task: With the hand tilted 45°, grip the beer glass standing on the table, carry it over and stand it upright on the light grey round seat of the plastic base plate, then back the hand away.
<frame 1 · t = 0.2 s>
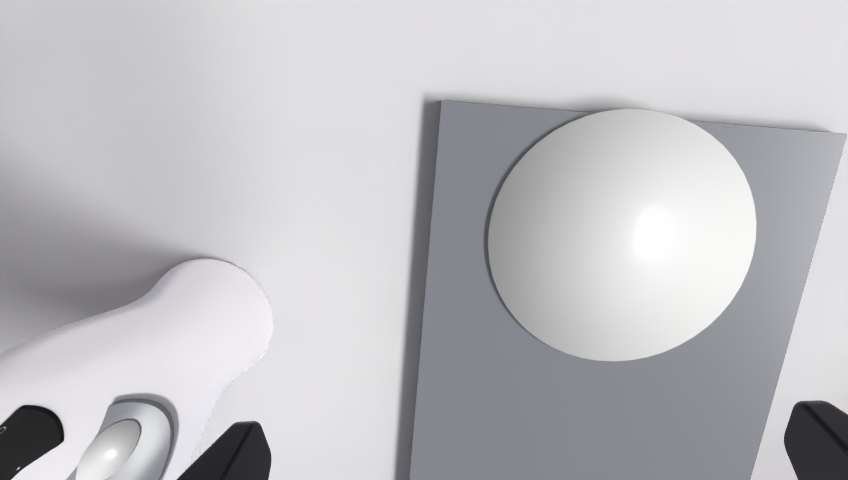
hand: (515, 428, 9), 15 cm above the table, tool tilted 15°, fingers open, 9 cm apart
base plate: (588, 375, 26), on the table
beer glass: (215, 315, 26), on the table
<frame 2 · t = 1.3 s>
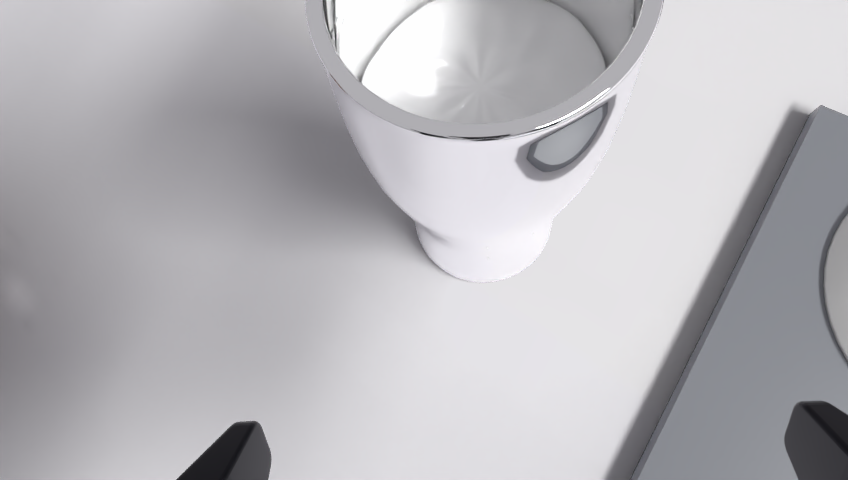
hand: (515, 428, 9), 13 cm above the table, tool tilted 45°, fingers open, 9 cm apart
beer glass: (482, 217, 24), on the table
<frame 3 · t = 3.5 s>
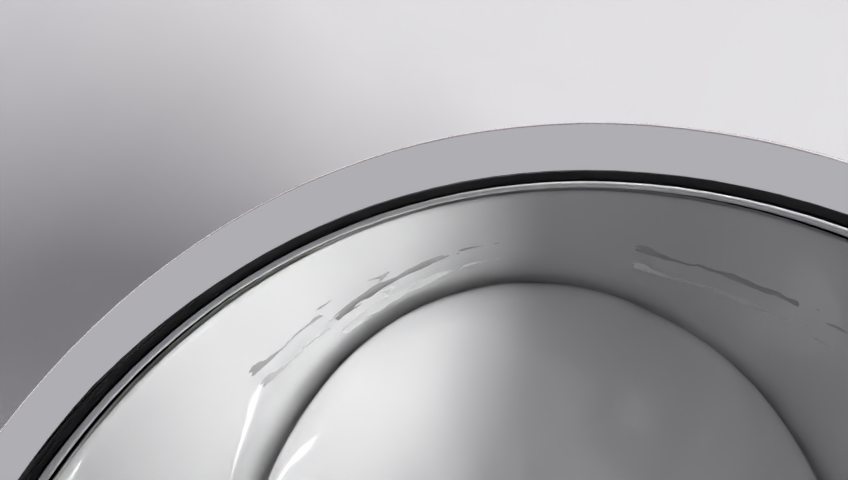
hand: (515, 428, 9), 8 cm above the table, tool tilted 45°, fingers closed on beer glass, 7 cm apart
beer glass: (505, 456, 16), on the table, touching gripper
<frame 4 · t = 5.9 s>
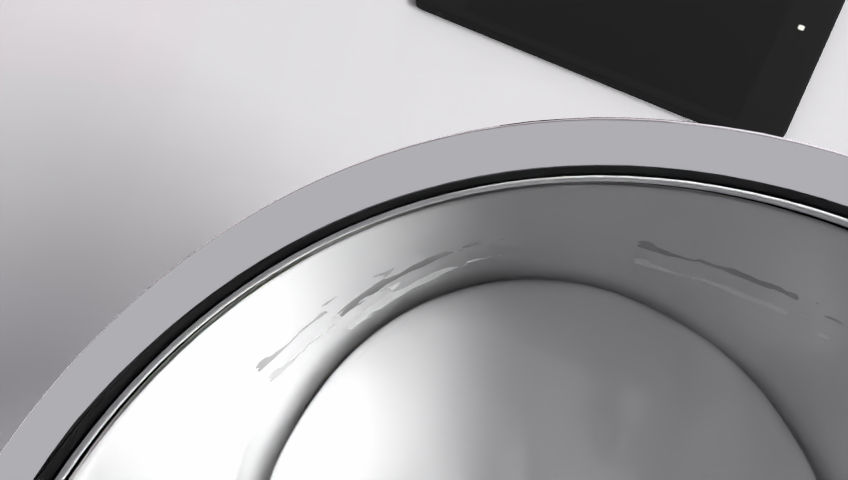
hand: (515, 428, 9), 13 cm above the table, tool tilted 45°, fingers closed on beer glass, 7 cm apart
cell phone: (616, 6, 26), on the table
beer glass: (500, 453, 16), point 5 cm above the table, touching gripper
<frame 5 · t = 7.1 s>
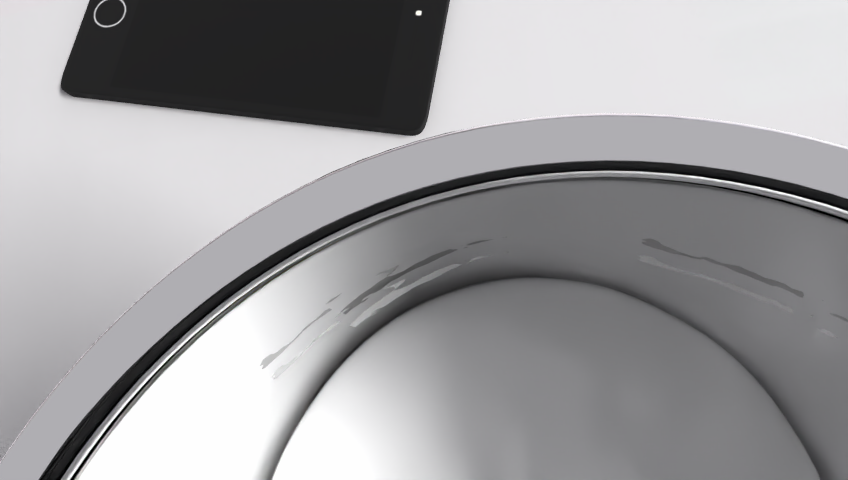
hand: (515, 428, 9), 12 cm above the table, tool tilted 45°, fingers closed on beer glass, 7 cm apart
cell phone: (262, 39, 27), on the table
beer glass: (501, 452, 16), point 4 cm above the table, touching gripper
when the fingers open (10 cm above the table, at t = 8.1 s): beer glass stays where it is, resting on base plate.
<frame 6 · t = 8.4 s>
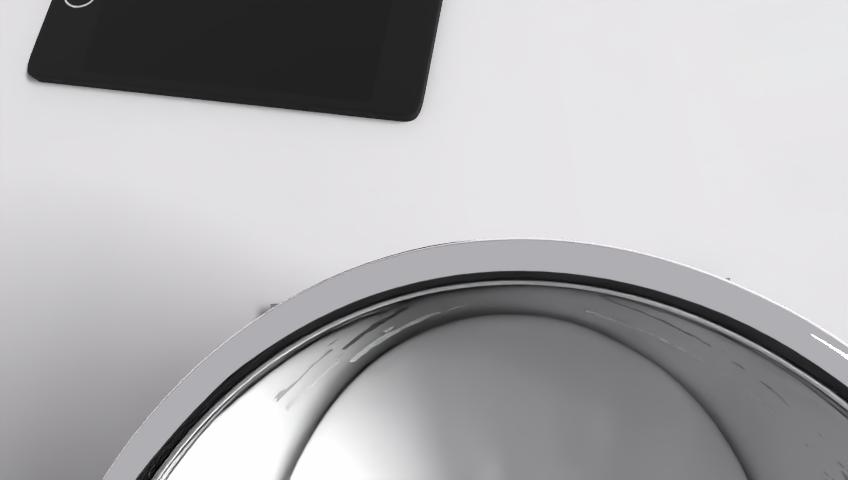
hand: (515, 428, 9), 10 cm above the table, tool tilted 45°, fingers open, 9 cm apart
cell phone: (245, 20, 25), on the table
beer glass: (500, 458, 17), point 1 cm above the table, touching base plate
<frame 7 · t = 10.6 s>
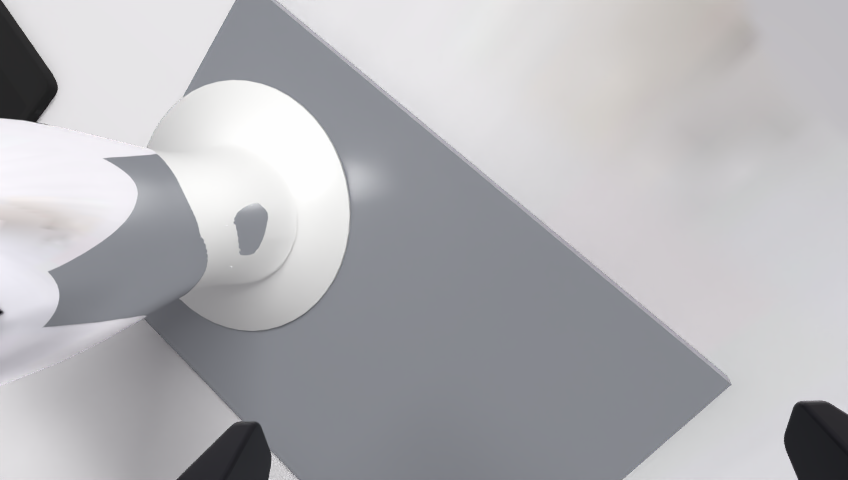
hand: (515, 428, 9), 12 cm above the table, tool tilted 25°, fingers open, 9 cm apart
base plate: (357, 307, 23), on the table
beer glass: (241, 214, 24), point 1 cm above the table, touching base plate
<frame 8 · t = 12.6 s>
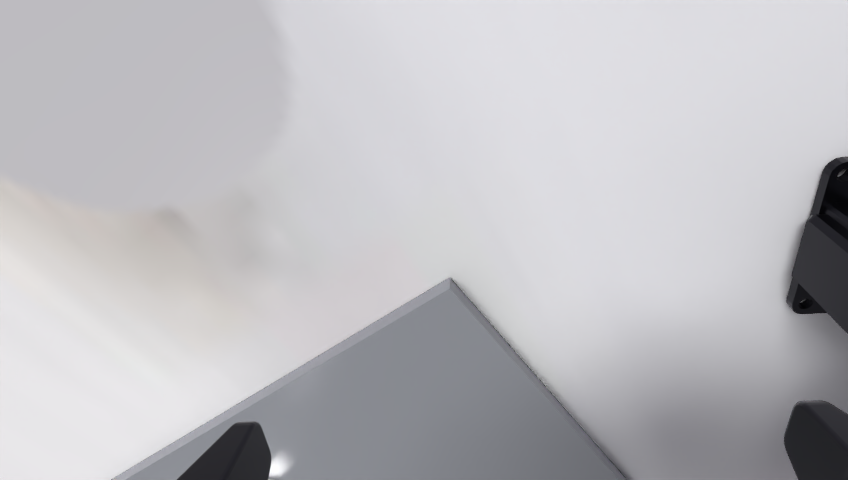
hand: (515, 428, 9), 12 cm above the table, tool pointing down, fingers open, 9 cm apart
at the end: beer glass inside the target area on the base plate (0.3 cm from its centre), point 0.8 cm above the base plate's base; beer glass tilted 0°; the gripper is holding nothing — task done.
